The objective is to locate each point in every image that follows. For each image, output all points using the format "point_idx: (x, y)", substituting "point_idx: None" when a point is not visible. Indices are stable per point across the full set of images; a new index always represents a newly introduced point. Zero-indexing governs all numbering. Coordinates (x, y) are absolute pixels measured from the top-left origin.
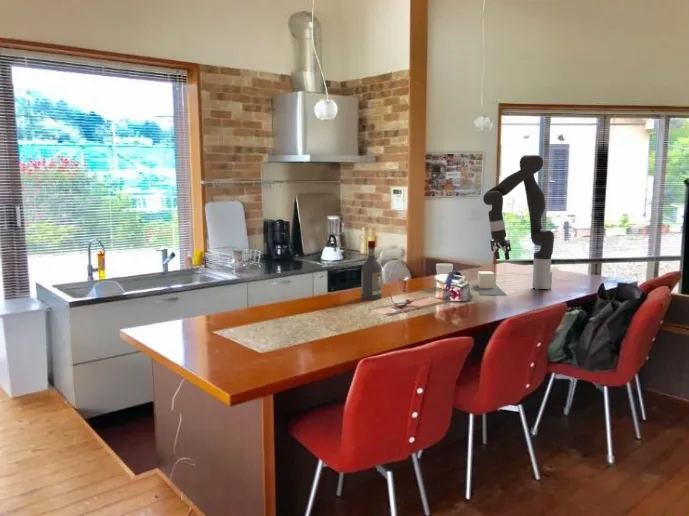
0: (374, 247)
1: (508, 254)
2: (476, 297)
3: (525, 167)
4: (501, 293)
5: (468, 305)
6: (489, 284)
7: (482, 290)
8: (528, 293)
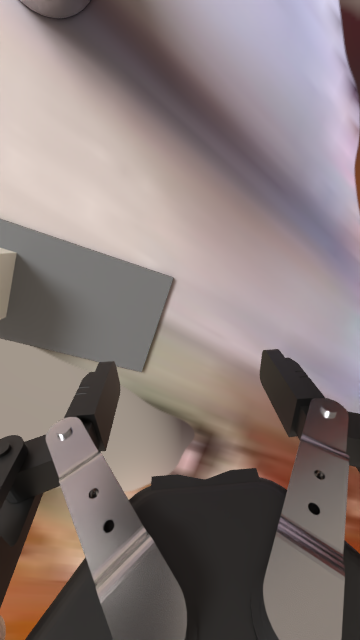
0: None
1: (315, 393)
2: (167, 392)
3: None
4: (144, 285)
5: (256, 449)
6: (3, 277)
7: (65, 330)
8: (157, 147)
